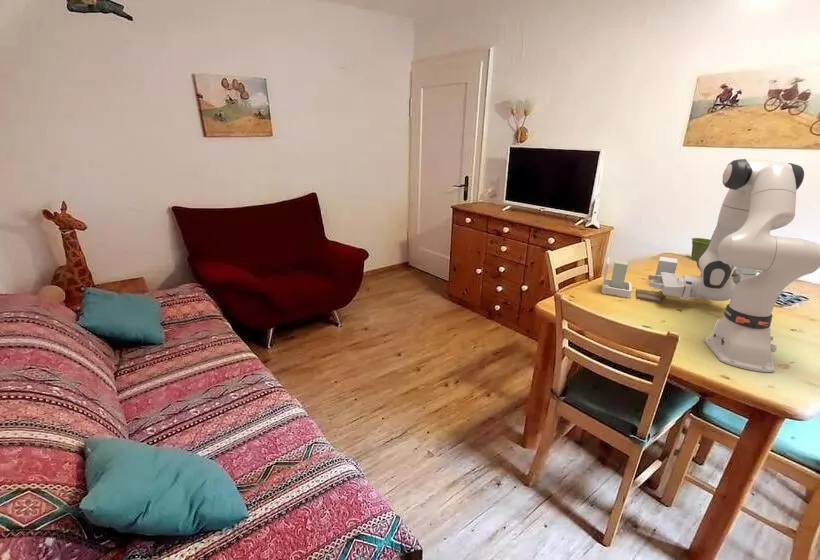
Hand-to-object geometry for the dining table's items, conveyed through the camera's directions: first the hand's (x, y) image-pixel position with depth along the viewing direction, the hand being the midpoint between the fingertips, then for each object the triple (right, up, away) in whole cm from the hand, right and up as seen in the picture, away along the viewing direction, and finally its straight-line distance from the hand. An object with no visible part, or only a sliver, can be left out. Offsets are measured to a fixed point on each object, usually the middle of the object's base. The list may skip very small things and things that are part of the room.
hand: (649, 280), depth 178 cm
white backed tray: (-11, -5, +8) cm, 14 cm away
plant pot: (+59, +11, +53) cm, 80 cm away
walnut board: (+1, -7, +2) cm, 8 cm away
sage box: (-11, -5, +8) cm, 14 cm away
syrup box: (+44, -7, +6) cm, 45 cm away
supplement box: (+16, -2, +16) cm, 23 cm away
